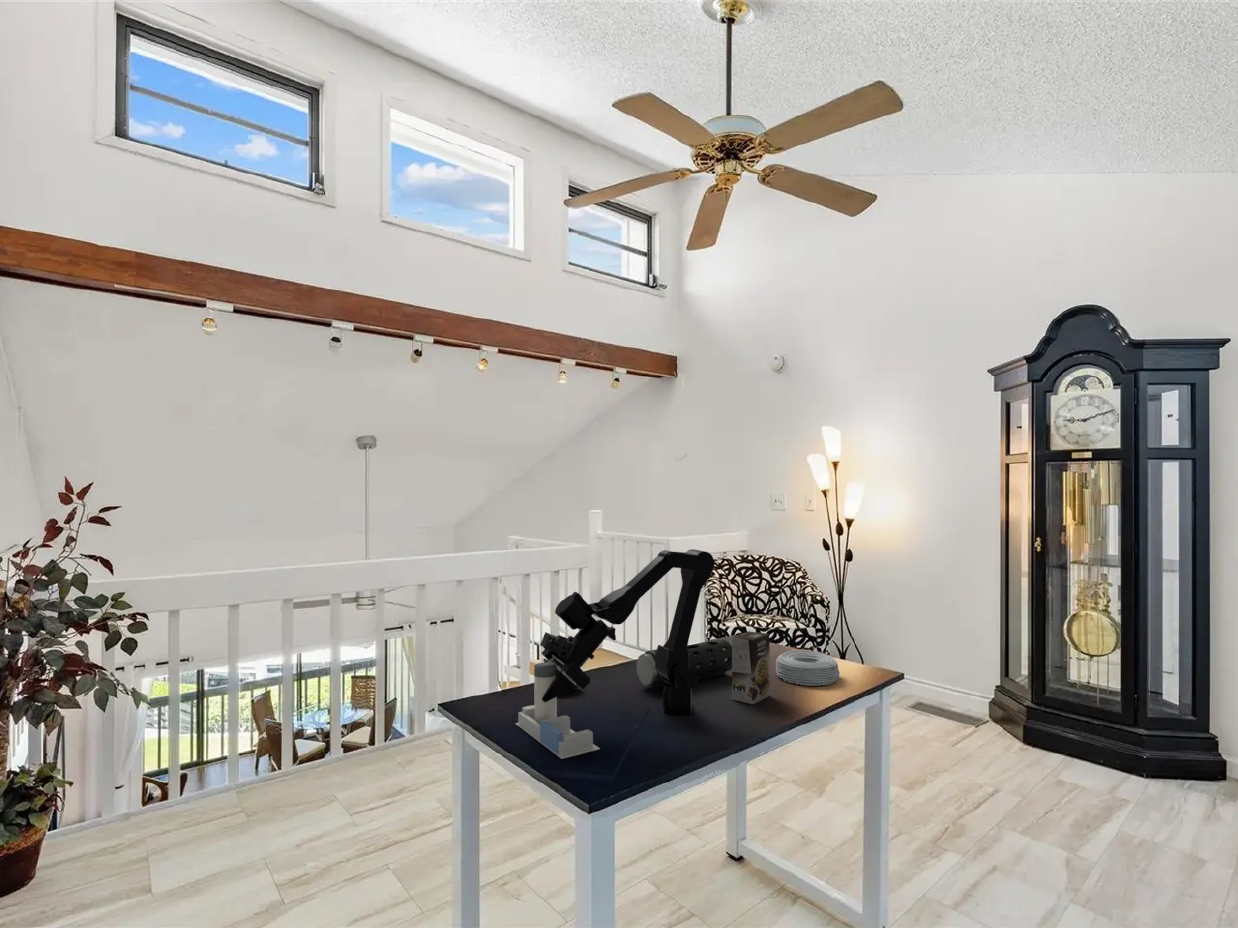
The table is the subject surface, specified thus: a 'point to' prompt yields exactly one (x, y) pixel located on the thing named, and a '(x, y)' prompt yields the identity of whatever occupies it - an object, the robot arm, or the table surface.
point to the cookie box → (750, 667)
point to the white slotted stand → (556, 734)
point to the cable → (807, 668)
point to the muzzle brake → (690, 662)
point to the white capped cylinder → (542, 681)
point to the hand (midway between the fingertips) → (539, 697)
